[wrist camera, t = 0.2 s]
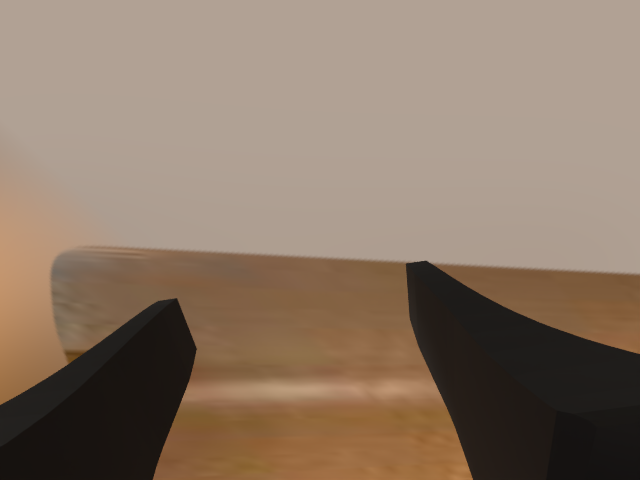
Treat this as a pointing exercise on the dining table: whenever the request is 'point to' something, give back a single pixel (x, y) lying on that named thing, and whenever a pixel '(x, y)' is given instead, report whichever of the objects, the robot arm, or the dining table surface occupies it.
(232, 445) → the dining table surface
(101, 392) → the robot arm
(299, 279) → the dining table surface
